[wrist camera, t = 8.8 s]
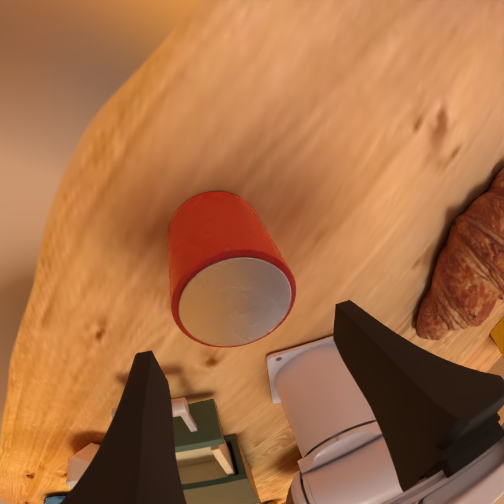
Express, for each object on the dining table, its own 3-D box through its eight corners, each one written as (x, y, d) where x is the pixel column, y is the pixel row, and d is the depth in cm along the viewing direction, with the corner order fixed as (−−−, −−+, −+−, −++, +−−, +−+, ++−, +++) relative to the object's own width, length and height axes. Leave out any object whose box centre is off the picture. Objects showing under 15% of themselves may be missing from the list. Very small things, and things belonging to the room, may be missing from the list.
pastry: (498, 278, 32) (538, 316, 25) (409, 333, 31) (449, 387, 24) (520, 152, 22) (580, 184, 16) (417, 191, 21) (495, 244, 15)
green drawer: (94, 387, 23) (92, 430, 19) (201, 368, 24) (209, 413, 21) (164, 463, 33) (168, 493, 29) (236, 450, 34) (244, 480, 30)
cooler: (149, 448, 32) (154, 493, 27) (235, 433, 33) (247, 478, 28) (184, 481, 40) (190, 515, 34) (250, 469, 41) (260, 502, 36)
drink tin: (254, 182, 18) (295, 237, 13) (263, 262, 21) (299, 333, 16) (157, 203, 18) (154, 270, 12) (180, 281, 21) (189, 361, 15)
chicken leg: (45, 460, 32) (63, 510, 28) (62, 442, 24) (90, 516, 19) (93, 454, 38) (111, 501, 34) (131, 432, 30) (159, 498, 26)
